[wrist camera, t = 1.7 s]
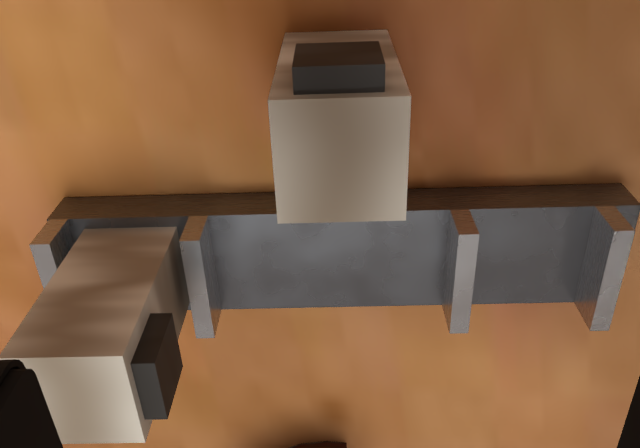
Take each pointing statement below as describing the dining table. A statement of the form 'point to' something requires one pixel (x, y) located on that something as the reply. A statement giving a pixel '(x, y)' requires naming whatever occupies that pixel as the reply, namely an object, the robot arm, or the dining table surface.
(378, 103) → the block
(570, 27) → the dining table surface
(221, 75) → the dining table surface
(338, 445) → the food container
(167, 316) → the block
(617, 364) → the dining table surface
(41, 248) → the rail
